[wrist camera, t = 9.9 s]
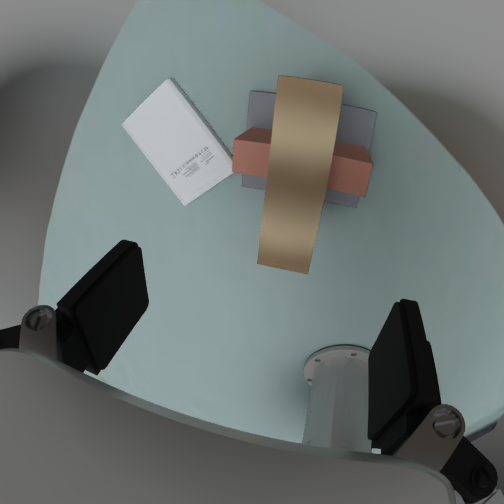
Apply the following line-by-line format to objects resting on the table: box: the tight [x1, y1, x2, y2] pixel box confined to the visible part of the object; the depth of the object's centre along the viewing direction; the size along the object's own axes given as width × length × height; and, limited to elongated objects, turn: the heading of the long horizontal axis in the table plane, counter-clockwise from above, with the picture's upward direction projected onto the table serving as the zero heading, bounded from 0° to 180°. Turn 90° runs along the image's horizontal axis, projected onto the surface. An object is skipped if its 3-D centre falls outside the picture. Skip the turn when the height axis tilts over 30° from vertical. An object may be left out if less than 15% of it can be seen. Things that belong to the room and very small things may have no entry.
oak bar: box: [257, 75, 344, 274], centre depth 22 cm, size 14×4×4 cm, turn 175°
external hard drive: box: [122, 78, 234, 206], centre depth 32 cm, size 2×8×12 cm
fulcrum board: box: [232, 91, 377, 208], centre depth 26 cm, size 10×12×7 cm
